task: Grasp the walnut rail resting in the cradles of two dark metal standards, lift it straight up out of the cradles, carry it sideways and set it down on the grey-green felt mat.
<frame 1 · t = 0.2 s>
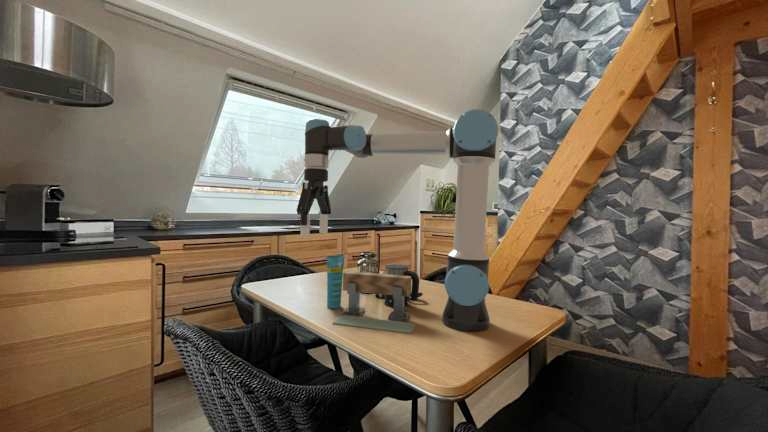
hand: (314, 234, 109), 28 cm above the table, fingers open, 13 cm apart
standard a: (398, 317, 114), on the table
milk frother: (403, 302, 133), on the table
felt mat: (374, 324, 107), on the table
standard b: (353, 312, 118), on the table
rail: (376, 292, 116), point 8 cm above the table, touching standard a, standard b
tube: (334, 307, 124), on the table
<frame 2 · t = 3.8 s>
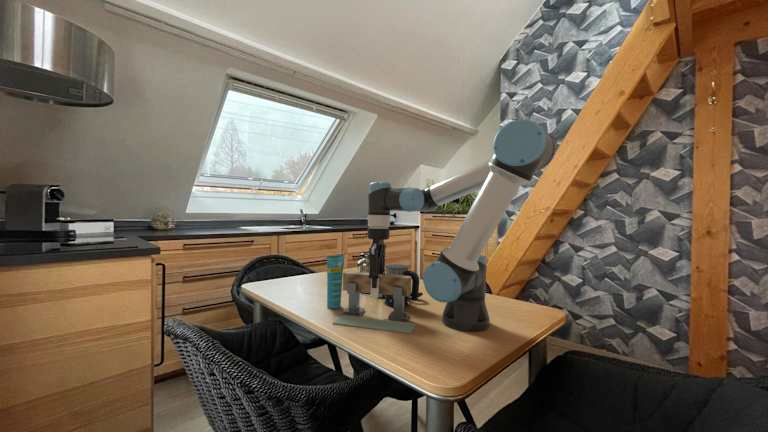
hand: (376, 295, 116), 7 cm above the table, fingers closed on rail, 4 cm apart
rail: (376, 292, 116), point 8 cm above the table, touching gripper, standard b
everything else where it was.
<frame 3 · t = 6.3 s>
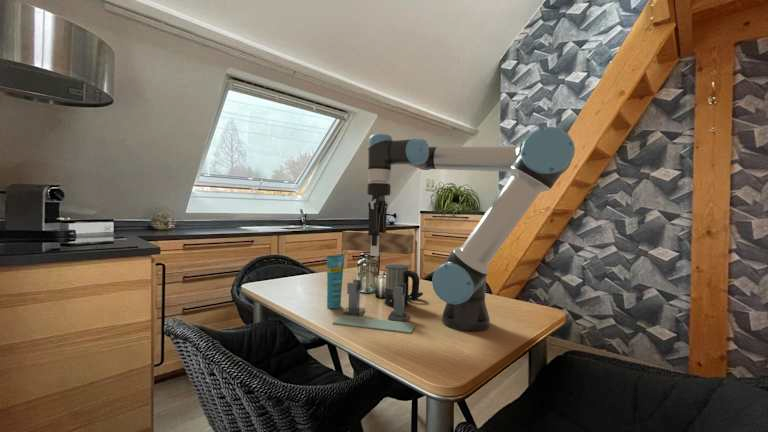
hand: (376, 254, 110), 22 cm above the table, fingers closed on rail, 4 cm apart
rail: (377, 251, 110), point 23 cm above the table, touching gripper
everything else where it was.
when the fingers open (2 cm above the table, at t = 9.1 s): rail drops 2 cm, resting on felt mat.
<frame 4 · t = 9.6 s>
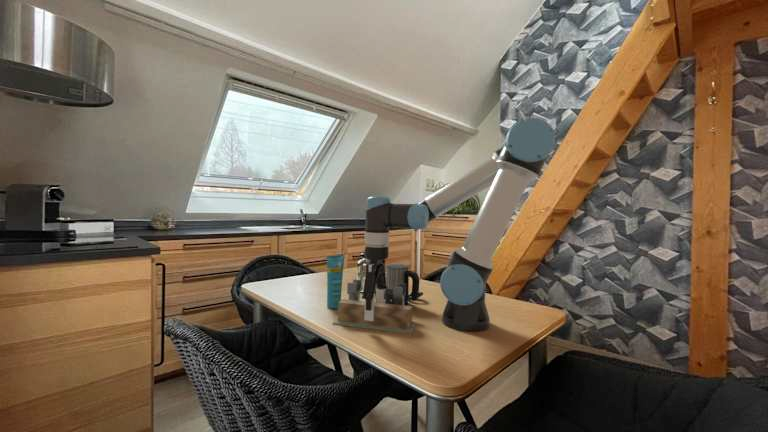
hand: (374, 314, 107), 3 cm above the table, fingers open, 11 cm apart
rail: (374, 323, 107), resting on felt mat
everything else where it was.
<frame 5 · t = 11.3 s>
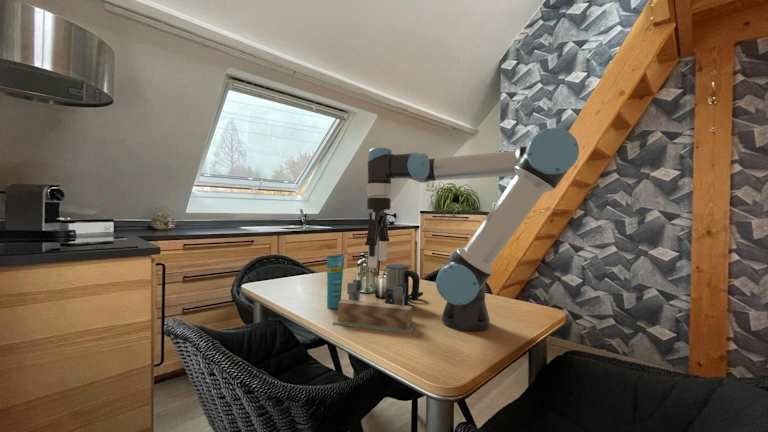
hand: (377, 263, 108), 19 cm above the table, fingers open, 13 cm apart
nothing on the table moved.
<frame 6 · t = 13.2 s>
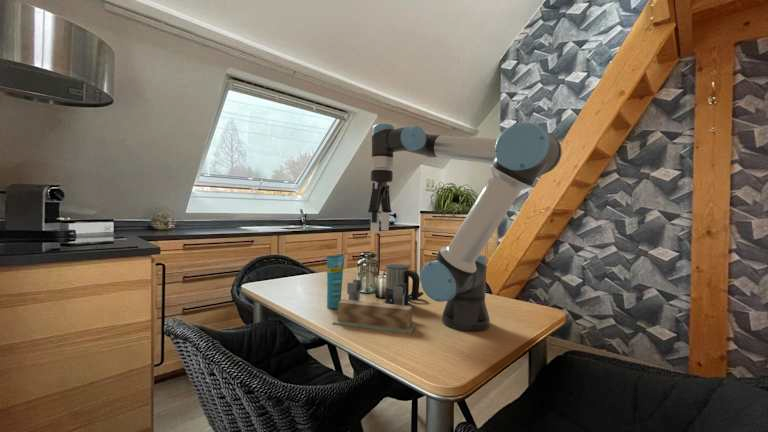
hand: (379, 231, 117), 29 cm above the table, fingers open, 13 cm apart
nothing on the table moved.
at the end: rail inside the target area on the felt mat (0.0 cm from its centre), point 0.4 cm above the felt mat's base; rail tilted 0°; the gripper is holding nothing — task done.
